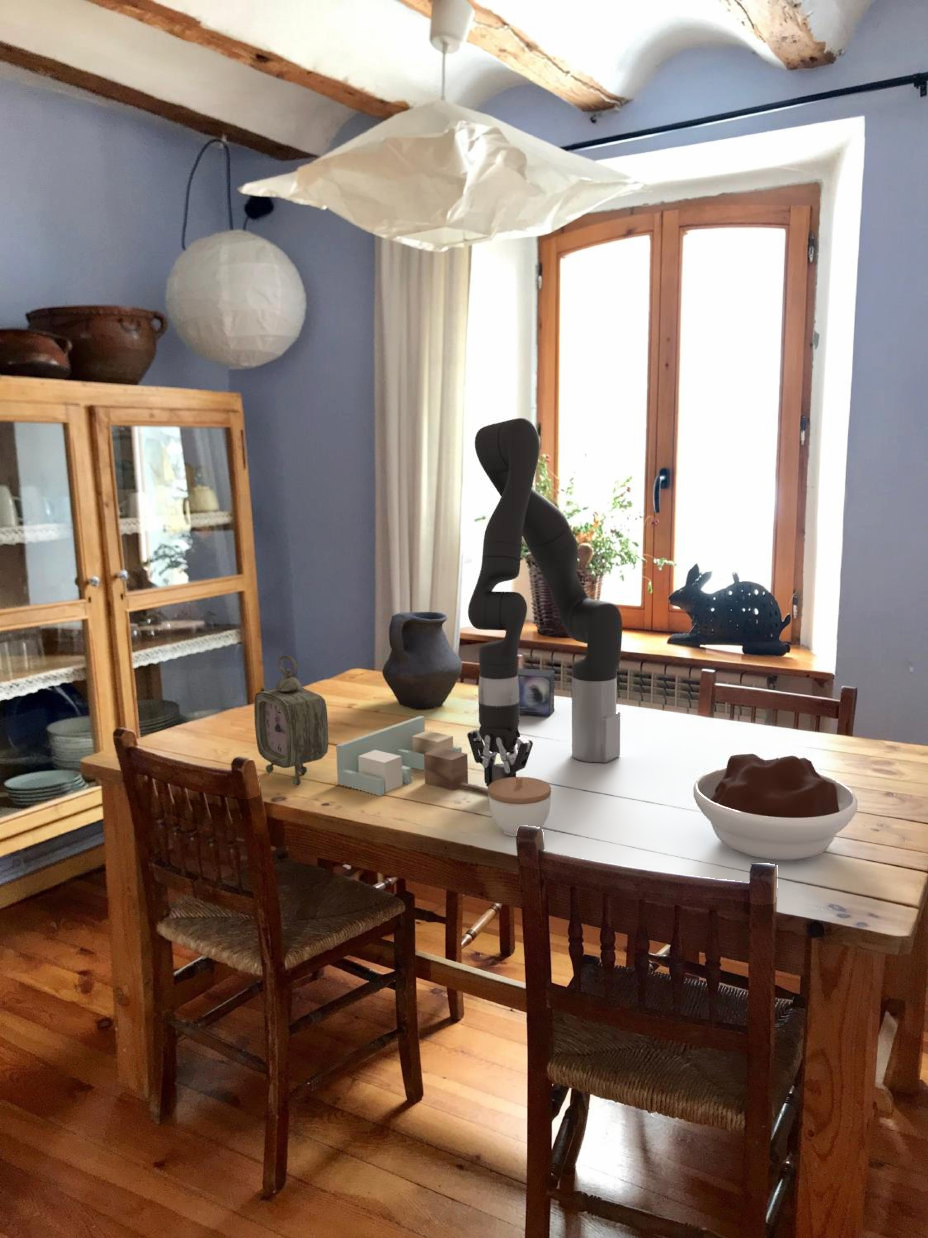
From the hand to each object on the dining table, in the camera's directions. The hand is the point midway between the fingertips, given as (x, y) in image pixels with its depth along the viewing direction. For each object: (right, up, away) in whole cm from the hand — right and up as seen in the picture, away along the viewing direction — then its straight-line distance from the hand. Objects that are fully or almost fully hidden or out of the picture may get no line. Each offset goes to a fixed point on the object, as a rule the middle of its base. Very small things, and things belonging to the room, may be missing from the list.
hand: (500, 787), depth 179 cm
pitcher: (-18, +9, +66) cm, 69 cm away
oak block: (-13, +1, +21) cm, 24 cm away
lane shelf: (-19, 0, +15) cm, 24 cm away
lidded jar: (+3, -5, -15) cm, 16 cm away
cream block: (-23, -1, +8) cm, 24 cm away
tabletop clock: (-41, 0, +14) cm, 43 cm away
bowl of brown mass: (+43, -5, -24) cm, 50 cm away
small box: (+10, +8, +58) cm, 59 cm away
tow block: (-6, -1, +5) cm, 8 cm away
